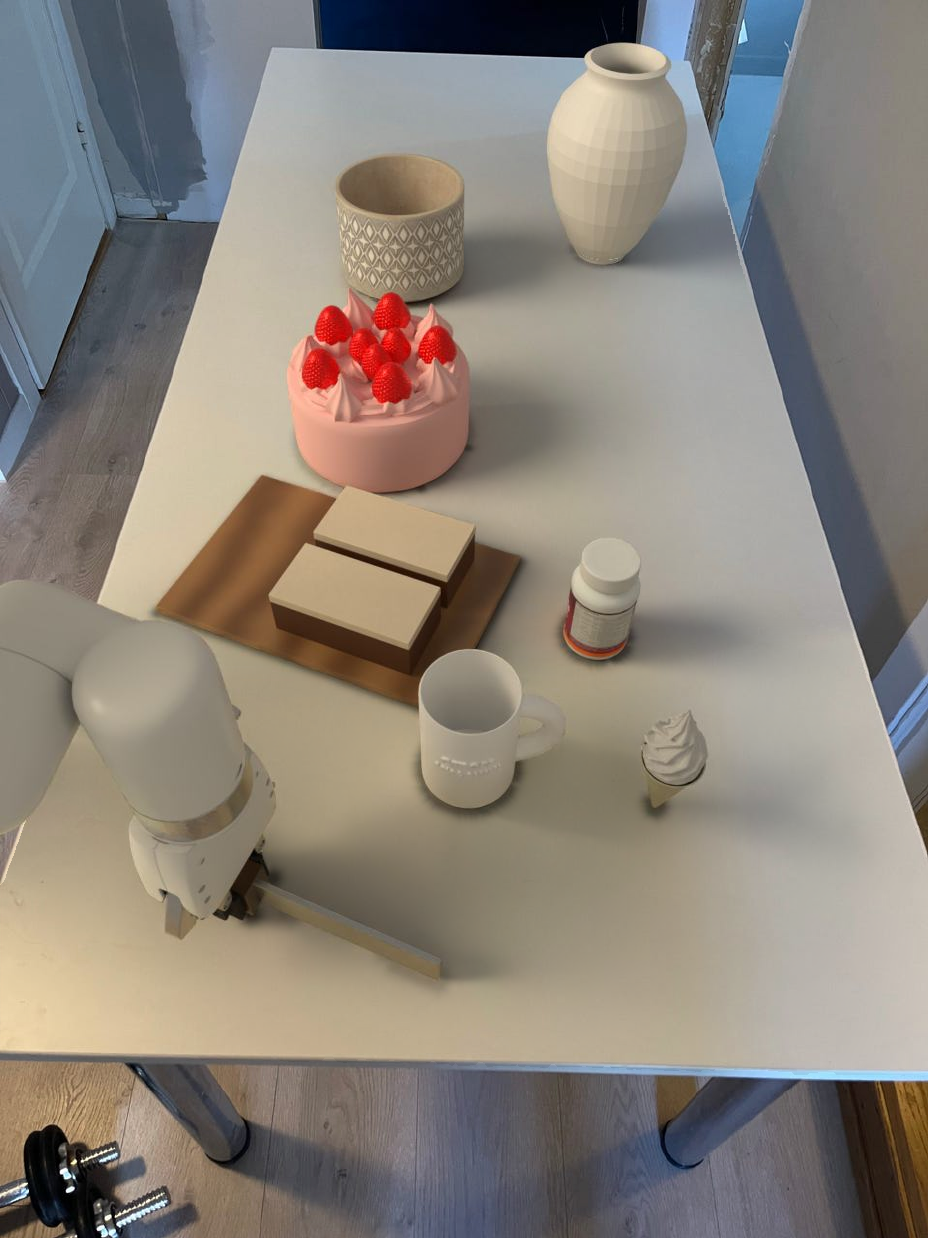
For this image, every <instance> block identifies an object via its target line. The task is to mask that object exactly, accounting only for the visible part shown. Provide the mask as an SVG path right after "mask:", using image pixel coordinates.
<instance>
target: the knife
mask: <svg viewBox="0 0 928 1238" xmlns="http://www.w3.org/2000/svg"><path fill="white" fill-rule="evenodd" d="M268 878H269V877H268ZM268 878H267V876H266V873H265V870H264V868H263V865H261V864H259V863H256V862H254V861H252V860H249V859H247V861H246V863H245V864H244V866H243V868H242V869H241V871H240V873H239V874H238V876H237V878H236V879H235V881H234V883H233V884H232V886H231V888H230V891H233V892H235V893H237V894H238V895H239V896H240V898H241V900H242V903H243V905H244V907H245V909H246V914H249V915H251V916H254V915H255V914H256V911H257V910H258V908H259V907H260V904H262V905H265V906H267V907H270V908H272V909H273V910H276V911H279V912H281V913H283V914H284V915H287V916H289V917H291V918H294V919H296V920H299V921H301V922H303V923H306V924H307V925H310V926H311V927H314V928H317V929H319V930H321V931H324V932H326V933H328V934H331V935H333V936H334V937H337V938H339V939H342V940H344V941H346V942H348V943H350V944H353V945H354V946H355V945H356V946H358V947H360V948H362V949H364V950H367V951H368V952H371V953H373V954H376V955H378V956H380V957H382V958H384V959H387V960H389V961H391V962H393V963H396V964H398V965H401V966H402V967H405V968H407V969H409V970H411V971H414V972H417V973H418V974H421V975H422V976H424V977H427V978H430V979H432V980H434V981H438V982H439V980H440V979H441V976H442V958H441V957H438V956H435V955H433V954H431V953H429V952H427V951H424V950H422V949H421V948H418V947H415V946H413V945H411V944H409V943H406V942H403V941H402V940H399V939H397V938H395V937H392V936H390V935H388V934H385V933H384V932H380V931H379V930H376V929H374V928H371V927H370V926H367V925H365V924H362V923H361V922H358V921H356V920H354V919H351V918H349V917H347V916H344V915H342V914H340V913H337V912H335V911H332V910H331V909H328V908H325V907H323V906H321V905H320V904H317V903H314V902H312V901H310V900H307V899H306V898H303V897H300V896H299V895H296V894H293V893H292V892H289V891H287V890H284V889H282V888H280V887H278V886H276V885H273V884H272V883H271V884H270V881H269V879H268Z"/></svg>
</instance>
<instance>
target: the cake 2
mask: <svg viewBox="0 0 928 1238" xmlns="http://www.w3.org/2000/svg"><path fill="white" fill-rule="evenodd" d="M336 498H337V499H336V501H335V502H334V504H333V505H332V506H331V508H330V509H329V511H328V512H327V513H326V515H325V516H324V518H323V519H322V520H321V522H320V523H319V525H318V526H317V527H316V529H315V530H314V532H313V533H314V539H315V544H316V546H317V547H320V548H323V549H326V550H329V551H332V552H335V553H338V554H341V555H344V556H347V557H350V558H353V559H356V560H359V561H362V562H365V563H368V564H371V565H374V566H377V567H380V568H383V569H386V570H389V571H392V572H395V573H398V574H401V575H404V576H407V577H410V578H413V579H416V580H419V581H422V582H425V583H428V584H431V585H434V586H438V587H440V590H441V594H440V595H441V607H443V608H446V609H447V608H448V607H449V605H450V603H451V601H452V599H453V598H454V596H455V594H456V592H457V590H458V589H459V587H460V585H461V583H462V581H463V579H464V578H465V576H466V574H467V572H468V570H469V568H470V567H471V565H472V563H473V561H474V556H475V542H476V528H477V526H476V524H473V523H471V522H470V523H469V522H466V521H463V520H460V519H457V518H453V517H450V516H447V515H443V514H440V513H438V512H434V511H431V510H427V509H425V508H421V507H418V506H414V505H411V504H408V503H405V502H402V501H399V500H395V499H393V498H389V497H387V496H383V495H379V494H376V493H374V492H367V491H363V490H360V489H357V488H354V487H351V486H347V485H346V487H343V489H342V491H341V492H340V494H339V495H338V497H336Z"/></svg>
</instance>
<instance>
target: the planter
mask: <svg viewBox="0 0 928 1238" xmlns="http://www.w3.org/2000/svg"><path fill="white" fill-rule="evenodd" d="M334 197H335V207H336V216H337V226H338V236H339V245H340V247H339V248H340V254H341V255H340V256H341V265H342V273H343V276H344V278H345V280H346V281H347V282H348V284H349V285H350V286H351V287H353V289H355V290H357V291H358V292H360V293H362V294H363V295H366V296H368V297H371V298H374V299H378V300H380V298H381V297H382V296H383V295H384V294H386V293H388V292H394V293H396V294H398V295H399V296H400V297H401V298H402V299H403V301H404V302H405V303H415V302H420V301H425V300H428V299H430V298H434V297H436V296H439V295H441V294H443V293H445V292H447V291H448V290H450V289H451V288H453V287H454V286H455V285H456V284H457V283H458V282H459V280H460V279H461V278H462V275H463V273H464V261H465V260H464V258H465V257H464V254H465V253H464V252H465V251H464V249H465V181H464V178H463V176H462V174H461V173H460V172H459V171H458V170H457V169H456V168H455V167H453V166H452V165H450V164H449V163H447V162H445V161H442V160H441V159H438V158H434V157H431V156H427V155H421V154H415V153H388V154H387V153H385V154H379V155H374V156H370V157H367V158H364V159H361V160H357V161H356V162H353V163H352V164H350V165H349V166H347V167H345V168H344V169H343V170H342V171H341V172H340V173H339V174H338V175H337V177H336V178H335V182H334Z"/></svg>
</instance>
